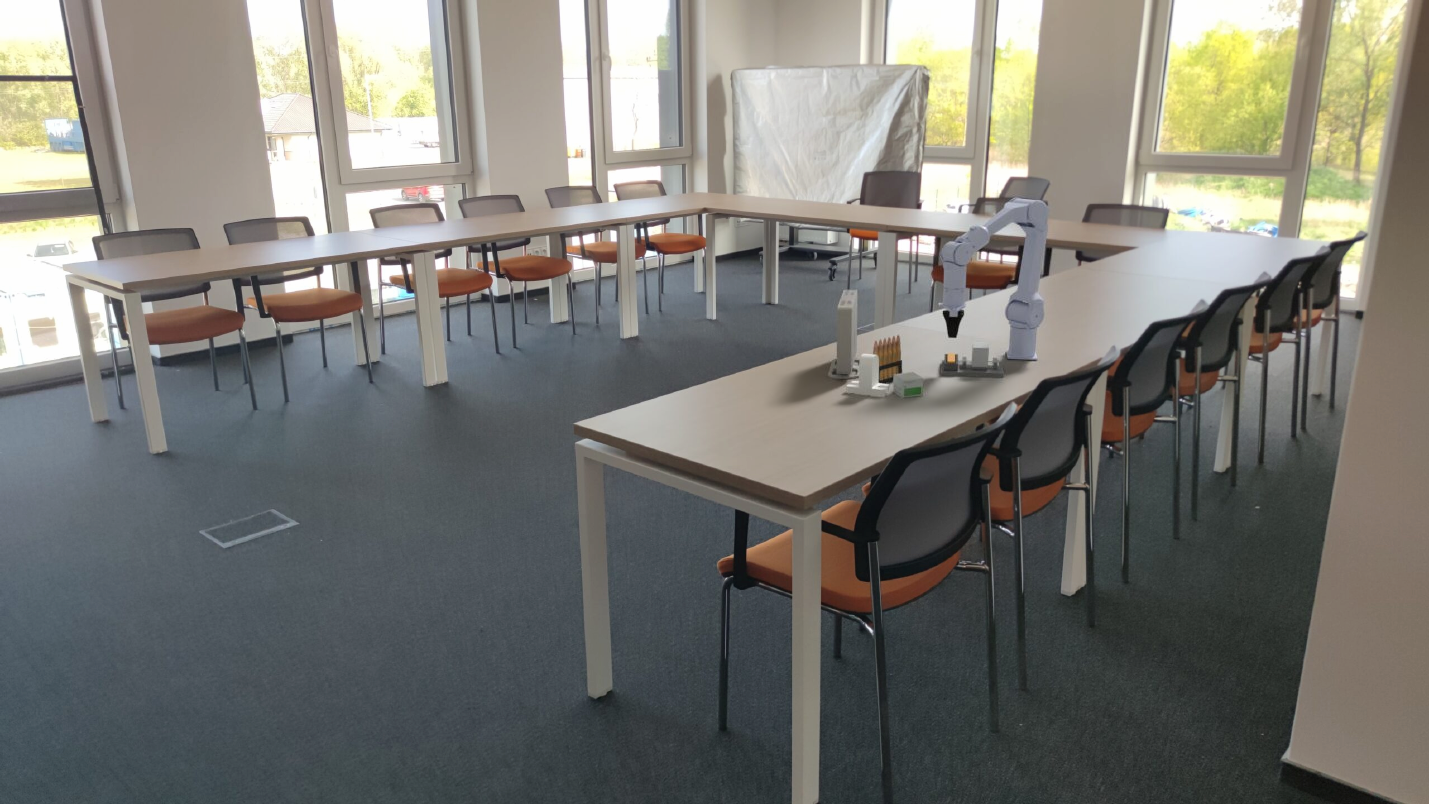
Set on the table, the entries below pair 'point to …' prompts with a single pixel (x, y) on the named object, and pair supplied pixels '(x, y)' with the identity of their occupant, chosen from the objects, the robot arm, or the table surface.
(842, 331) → the network device
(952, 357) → the locking tab
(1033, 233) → the robot arm
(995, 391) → the table surface
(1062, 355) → the table surface
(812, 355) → the table surface
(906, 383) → the small box
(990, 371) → the mounting board
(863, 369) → the cable organizer
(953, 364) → the gray slotted fixture
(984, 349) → the block
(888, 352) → the ammunition clip
